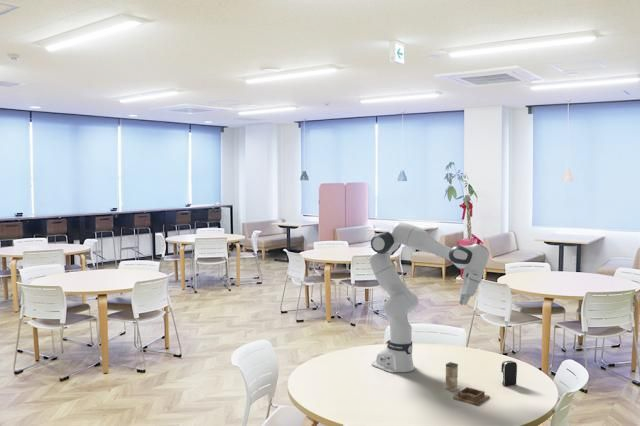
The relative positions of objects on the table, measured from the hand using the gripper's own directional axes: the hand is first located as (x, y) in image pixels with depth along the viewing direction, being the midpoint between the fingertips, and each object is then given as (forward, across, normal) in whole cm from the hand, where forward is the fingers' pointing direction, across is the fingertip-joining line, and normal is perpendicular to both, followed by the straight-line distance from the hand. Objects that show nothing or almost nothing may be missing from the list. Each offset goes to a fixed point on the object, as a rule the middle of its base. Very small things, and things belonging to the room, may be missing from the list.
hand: (462, 304), depth 274 cm
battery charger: (+28, -9, +34) cm, 45 cm away
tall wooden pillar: (+39, -2, +8) cm, 40 cm away
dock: (+38, +9, +16) cm, 42 cm away
